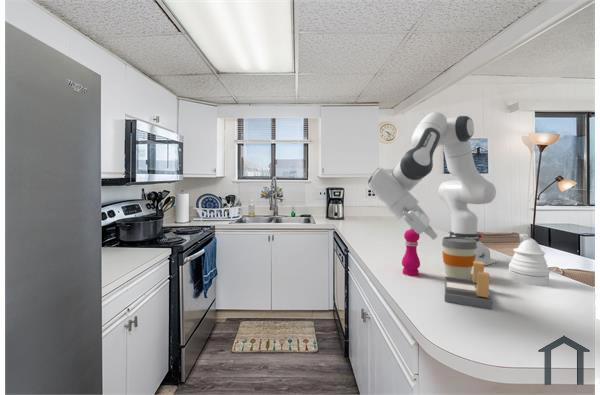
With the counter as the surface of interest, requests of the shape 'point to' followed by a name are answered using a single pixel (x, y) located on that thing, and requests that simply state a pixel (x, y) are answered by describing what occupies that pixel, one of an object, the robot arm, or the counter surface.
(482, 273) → the slider
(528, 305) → the counter surface
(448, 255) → the reusable coffee cup
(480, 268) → the slider
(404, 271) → the pepper mill
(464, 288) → the switch panel
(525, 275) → the honey pot
